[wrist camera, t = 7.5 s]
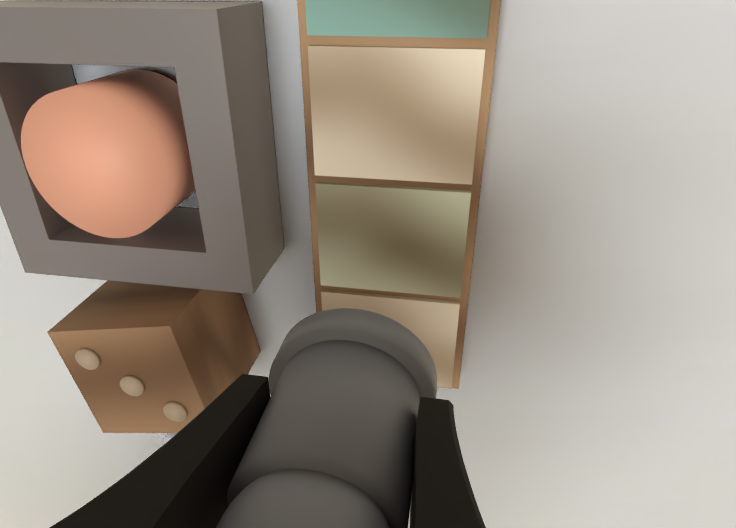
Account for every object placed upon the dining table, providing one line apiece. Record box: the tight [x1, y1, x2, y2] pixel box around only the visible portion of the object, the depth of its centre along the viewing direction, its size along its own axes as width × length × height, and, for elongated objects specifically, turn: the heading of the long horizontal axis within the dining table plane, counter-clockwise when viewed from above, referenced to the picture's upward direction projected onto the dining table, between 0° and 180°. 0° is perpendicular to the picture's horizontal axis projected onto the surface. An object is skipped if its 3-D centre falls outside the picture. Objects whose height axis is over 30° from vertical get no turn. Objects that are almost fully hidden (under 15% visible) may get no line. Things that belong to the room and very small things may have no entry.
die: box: [48, 280, 260, 433], centre depth 22 cm, size 5×5×5 cm
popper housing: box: [0, 0, 284, 294], centre depth 18 cm, size 9×9×4 cm
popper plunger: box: [21, 69, 196, 238], centre depth 18 cm, size 5×5×4 cm
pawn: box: [216, 308, 437, 528], centre depth 10 cm, size 4×4×6 cm
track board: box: [297, 0, 501, 389], centre depth 19 cm, size 18×6×1 cm, turn 0°
